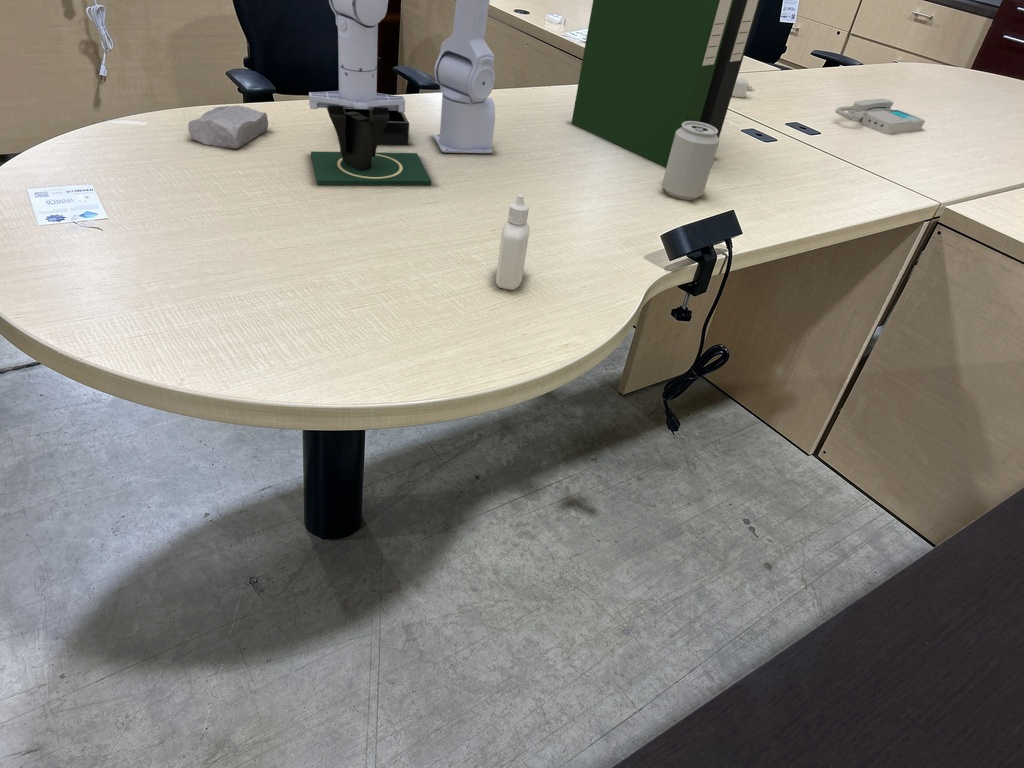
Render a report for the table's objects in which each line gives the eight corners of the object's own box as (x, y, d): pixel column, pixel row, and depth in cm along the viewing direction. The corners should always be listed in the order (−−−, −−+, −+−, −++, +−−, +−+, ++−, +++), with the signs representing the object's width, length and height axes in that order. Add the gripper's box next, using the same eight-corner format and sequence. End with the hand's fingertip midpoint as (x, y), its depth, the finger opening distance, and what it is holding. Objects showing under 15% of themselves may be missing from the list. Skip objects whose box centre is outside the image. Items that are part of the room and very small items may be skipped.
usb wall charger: (723, 92, 192) (728, 76, 190) (747, 94, 193) (752, 79, 191) (728, 96, 189) (733, 80, 187) (753, 99, 190) (758, 83, 188)
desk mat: (416, 157, 129) (417, 152, 128) (431, 185, 120) (431, 180, 119) (310, 155, 123) (310, 150, 122) (317, 185, 114) (317, 179, 114)
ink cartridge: (372, 169, 120) (373, 120, 115) (360, 171, 118) (362, 121, 113) (353, 158, 122) (354, 109, 117) (341, 160, 121) (342, 111, 116)
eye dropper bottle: (482, 280, 97) (493, 195, 90) (509, 267, 101) (520, 184, 94) (508, 293, 95) (520, 207, 88) (534, 280, 99) (548, 196, 92)
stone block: (186, 150, 122) (241, 150, 120) (178, 121, 120) (233, 120, 118) (224, 132, 132) (274, 131, 130) (216, 104, 129) (268, 103, 127)
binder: (568, 123, 154) (599, -51, 135) (613, 115, 163) (648, -49, 144) (671, 170, 140) (722, -17, 121) (714, 157, 149) (767, -18, 130)
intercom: (827, 101, 181) (885, 96, 194) (820, 119, 184) (878, 112, 196) (873, 119, 173) (930, 112, 185) (865, 137, 175) (922, 130, 188)
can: (704, 191, 133) (724, 125, 126) (699, 205, 128) (719, 137, 120) (664, 181, 135) (681, 115, 128) (657, 195, 129) (675, 126, 122)
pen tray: (400, 129, 139) (401, 107, 136) (408, 145, 133) (409, 122, 130) (339, 127, 135) (339, 105, 133) (345, 143, 129) (345, 121, 127)
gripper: (310, 71, 106) (313, 162, 114) (410, 76, 110) (406, 164, 118) (306, 57, 111) (309, 146, 119) (401, 63, 115) (398, 148, 124)
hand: (357, 154), depth 119 cm, fingers closed on ink cartridge, 4 cm apart
